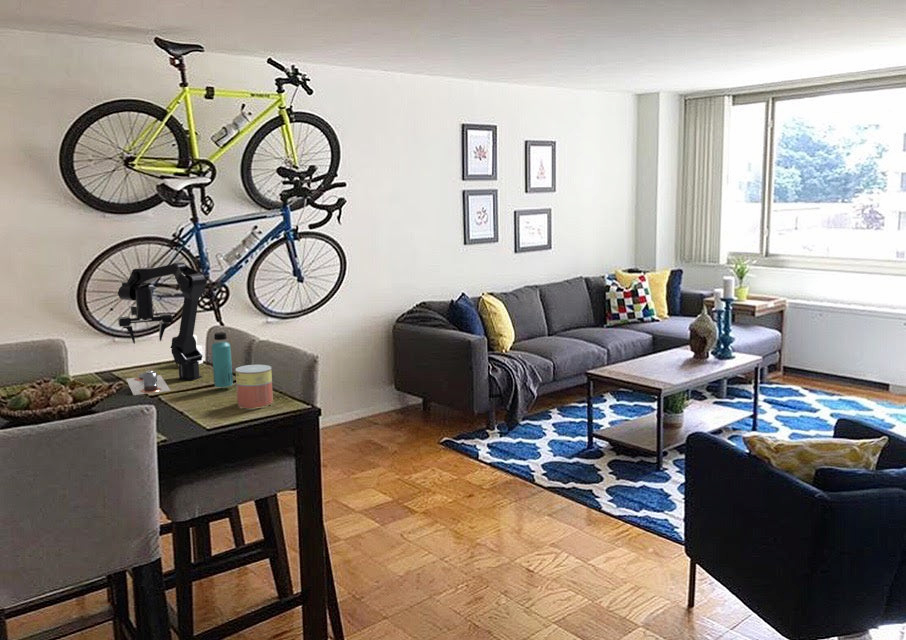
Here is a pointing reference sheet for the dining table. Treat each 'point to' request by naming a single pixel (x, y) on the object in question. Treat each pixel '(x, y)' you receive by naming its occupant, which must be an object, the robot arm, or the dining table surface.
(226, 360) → the beverage bottle
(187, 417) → the dining table surface
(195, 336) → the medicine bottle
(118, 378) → the dining table surface
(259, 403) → the canned food
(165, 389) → the flange strip
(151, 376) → the locating pin
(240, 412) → the dining table surface
